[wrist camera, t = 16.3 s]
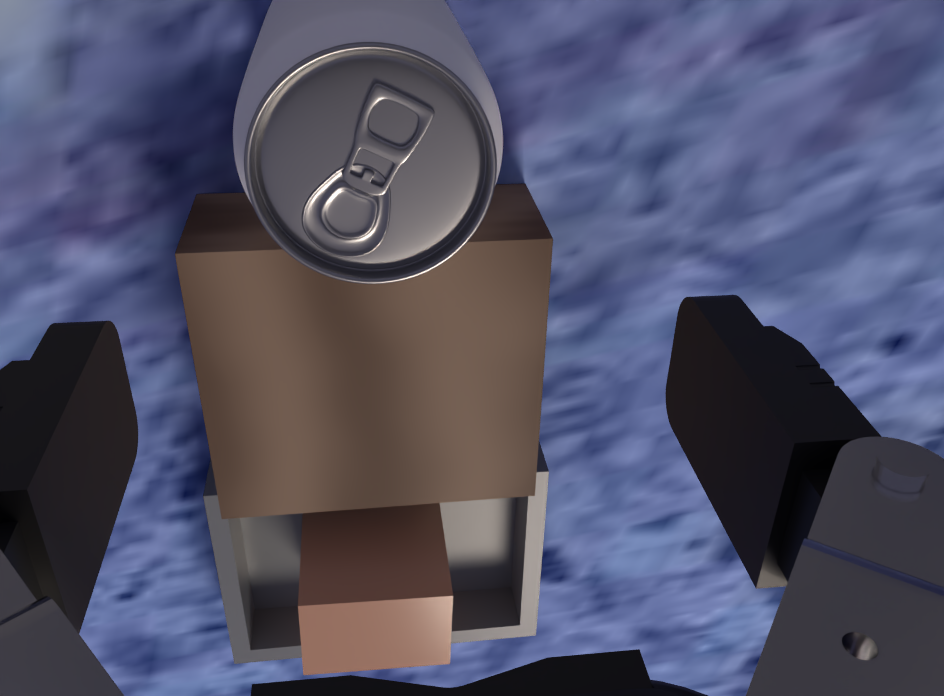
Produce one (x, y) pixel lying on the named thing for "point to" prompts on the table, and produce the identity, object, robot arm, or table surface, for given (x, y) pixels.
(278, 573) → the box
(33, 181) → the table surface
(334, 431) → the brown wooden block
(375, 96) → the can
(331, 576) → the small tan cube
